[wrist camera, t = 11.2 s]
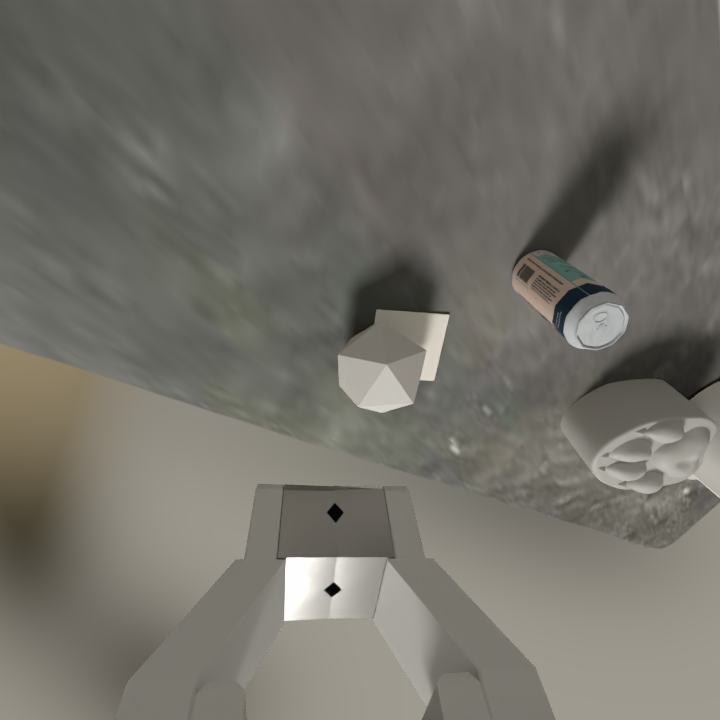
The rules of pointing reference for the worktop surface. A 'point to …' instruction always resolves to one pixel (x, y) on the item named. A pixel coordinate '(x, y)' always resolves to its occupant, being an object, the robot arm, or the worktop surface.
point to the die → (381, 368)
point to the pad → (419, 333)
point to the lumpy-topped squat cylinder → (638, 434)
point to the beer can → (570, 300)
